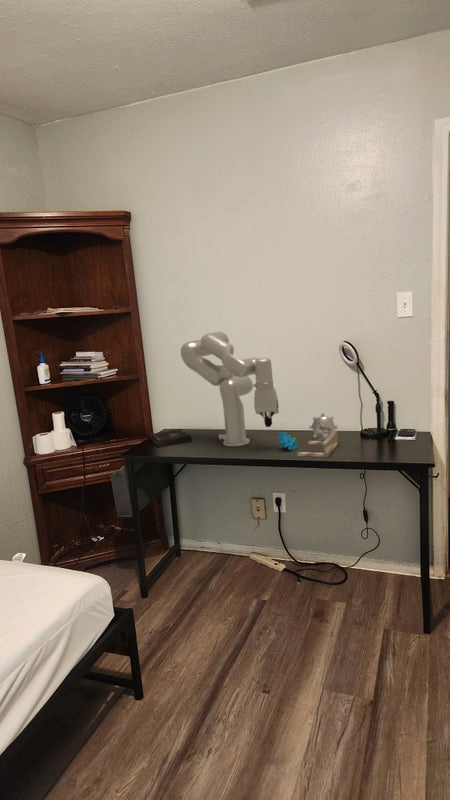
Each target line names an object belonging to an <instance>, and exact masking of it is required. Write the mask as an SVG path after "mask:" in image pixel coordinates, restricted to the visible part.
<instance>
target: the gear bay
mask: <svg viewBox="0 0 450 800" xmlns="http://www.w3.org/2000/svg"><path fill="white" fill-rule="evenodd" d="M307 445H319V446H320V445H322V446H323V447H322V449H323V452H310V451H308V452H307V451H297V452H296V455H297V456H298V457H318V458H319V457H320V458H328V457H330V455H331V454H332V452H333V451H334V450H335V448H336V446H337V445H338V431H337V430H334V431H333V432H332V433H331V434H330V436H329V437H328V438H326V440H325V441H317V440H308V441H307Z"/></svg>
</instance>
